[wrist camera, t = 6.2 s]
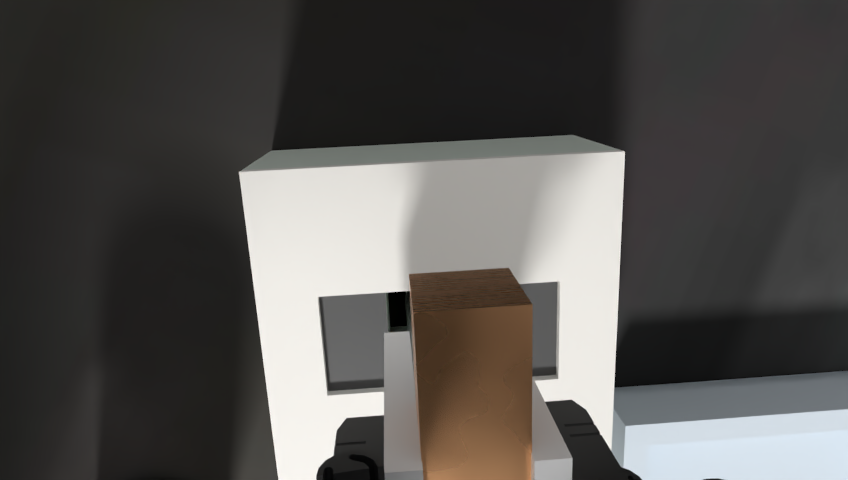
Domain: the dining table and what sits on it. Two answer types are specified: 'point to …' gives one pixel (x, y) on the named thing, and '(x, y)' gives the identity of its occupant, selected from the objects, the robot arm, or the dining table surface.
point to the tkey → (472, 373)
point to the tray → (735, 428)
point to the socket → (426, 266)
